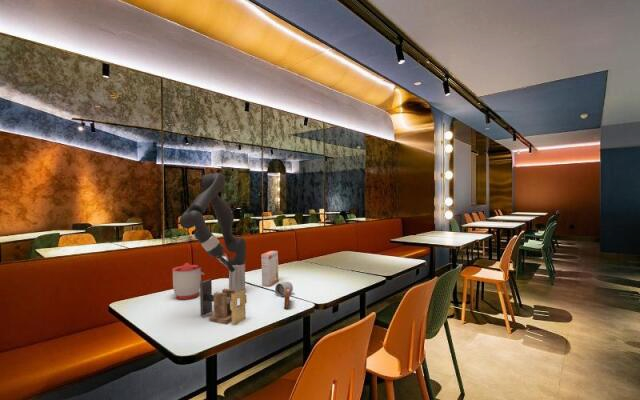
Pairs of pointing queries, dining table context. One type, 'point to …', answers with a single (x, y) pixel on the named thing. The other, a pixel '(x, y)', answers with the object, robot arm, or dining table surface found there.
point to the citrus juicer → (186, 281)
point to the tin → (287, 297)
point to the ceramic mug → (283, 288)
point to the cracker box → (269, 268)
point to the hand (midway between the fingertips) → (233, 270)
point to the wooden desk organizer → (207, 297)
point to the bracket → (222, 307)
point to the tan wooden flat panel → (239, 310)
